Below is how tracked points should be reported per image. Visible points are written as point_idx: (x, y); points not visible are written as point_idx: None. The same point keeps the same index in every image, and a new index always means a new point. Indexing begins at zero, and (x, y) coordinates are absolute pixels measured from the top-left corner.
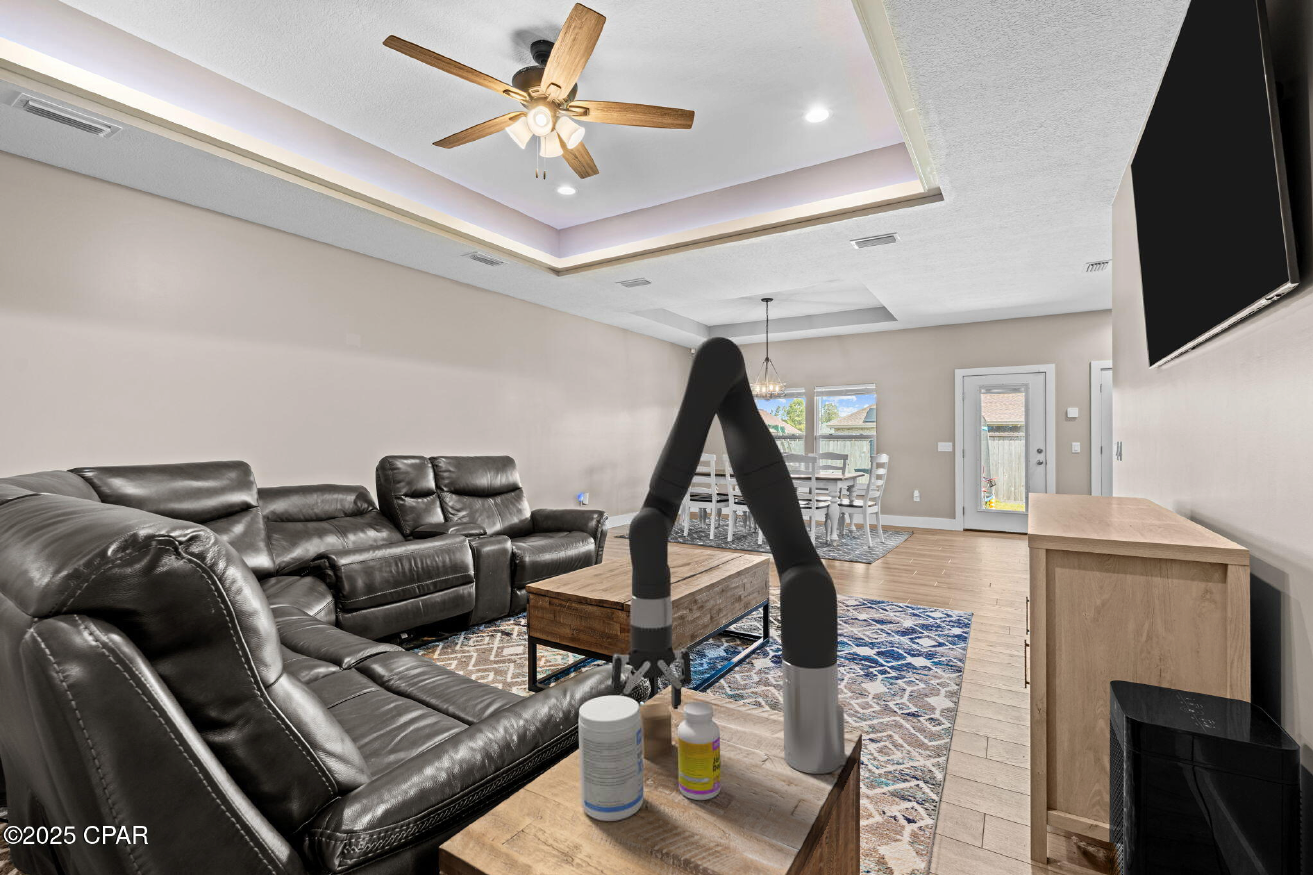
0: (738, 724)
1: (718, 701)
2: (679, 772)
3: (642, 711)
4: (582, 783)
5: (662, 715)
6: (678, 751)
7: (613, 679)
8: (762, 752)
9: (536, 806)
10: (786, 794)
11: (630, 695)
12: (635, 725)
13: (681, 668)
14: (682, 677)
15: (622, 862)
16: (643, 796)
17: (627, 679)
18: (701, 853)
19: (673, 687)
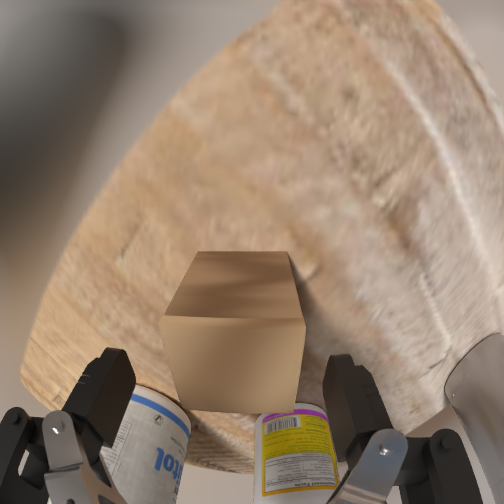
0: (485, 224)
1: (487, 83)
2: (254, 449)
3: (180, 373)
4: None
5: (258, 411)
6: (254, 476)
7: (23, 471)
8: (449, 344)
9: (52, 371)
10: (393, 426)
11: (109, 443)
12: None
13: (436, 497)
14: (406, 480)
15: None
16: (190, 432)
17: (62, 464)
18: (248, 469)
19: (347, 451)
